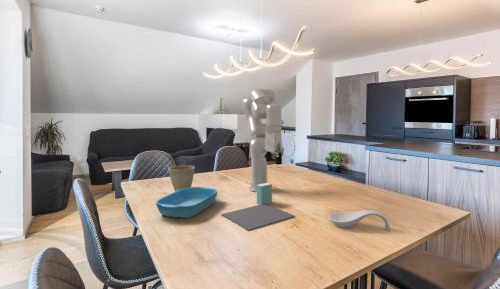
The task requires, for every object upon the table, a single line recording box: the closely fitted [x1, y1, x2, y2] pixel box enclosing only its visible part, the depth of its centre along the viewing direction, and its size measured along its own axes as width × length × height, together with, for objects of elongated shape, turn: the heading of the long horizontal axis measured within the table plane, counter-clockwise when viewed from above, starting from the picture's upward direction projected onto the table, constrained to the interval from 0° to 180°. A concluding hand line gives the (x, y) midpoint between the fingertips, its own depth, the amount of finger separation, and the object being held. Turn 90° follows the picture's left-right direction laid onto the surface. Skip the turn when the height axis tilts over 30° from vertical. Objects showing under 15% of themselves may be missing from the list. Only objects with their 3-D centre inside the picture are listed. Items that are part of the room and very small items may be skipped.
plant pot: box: [168, 164, 196, 192], centre depth 170 cm, size 15×15×16 cm
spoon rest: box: [328, 209, 391, 232], centre depth 120 cm, size 24×12×7 cm, turn 74°
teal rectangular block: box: [256, 182, 273, 205], centre depth 151 cm, size 4×7×10 cm, turn 125°
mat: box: [221, 204, 296, 232], centre depth 133 cm, size 22×26×1 cm
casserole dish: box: [155, 186, 219, 219], centre depth 145 cm, size 37×22×7 cm, turn 162°
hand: (273, 162), depth 147 cm, fingers open, 9 cm apart
